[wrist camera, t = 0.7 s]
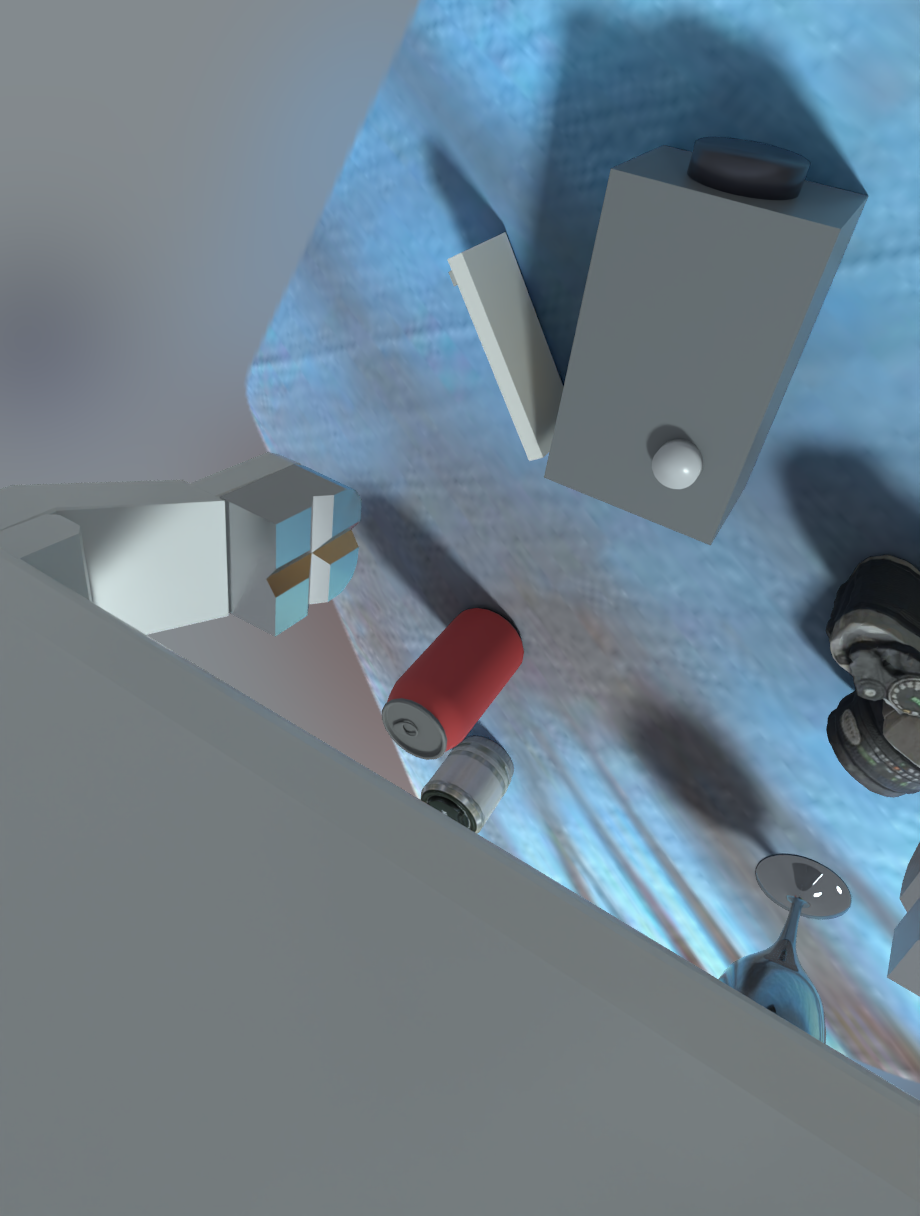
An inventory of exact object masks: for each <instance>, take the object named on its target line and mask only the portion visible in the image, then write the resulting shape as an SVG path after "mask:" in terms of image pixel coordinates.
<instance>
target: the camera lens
mask: <svg viewBox="0 0 920 1216" xmlns="http://www.w3.org/2000/svg"><path fill="white" fill-rule="evenodd" d="M513 772H514V767H513V763H512V761H511V758H510V757H509V755H508V754H507V752H505V750H504V749H503V748H502V747H501V746H499V745H498V744H497V743H495V742H493V741H492V740H490V739H487V738H484V737H481V736H472V737H468V738H466V739H465V740H464V741H463V742H461V743H460V744H458V745H457V746H456V747H455V748H454V749H453V750H452V751H451V752H450V754H449V755H448V757H447V758H446V760H445V761H444V762H443V763H442V765H441V766H440V767H439V769H438V770H437V771H436V773H435V774H434V775H433V777H432V778H431V779H430V781H429V782H428V783H427V784H426V785H425V786H424V788H423V789H422V792H421V801H423V802H425V803H426V804H428V805H430V806H431V807H433V808H435V809H436V810H438V811H440V812H441V813H443V814H445V815H446V816H448V817H450V818H451V819H453V820H455V821H456V822H458V823H460V824H461V825H463V826H465V827H466V828H468V829H470V830H471V831H473V832H475V833H476V834H478V833H479V832H480V830H481V829H482V827H483V826H484V824H485V823H486V821H487V820H488V818H489V817H490V815H491V814H492V812H493V811H494V809H495V807H496V806H497V804H498V803H499V801H500V800H501V798H502V797H503V795H504V794H505V792H506V791H507V788H508V786H509V784H510V782H511V777H512V775H513Z"/></svg>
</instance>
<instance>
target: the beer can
mask: <svg viewBox="0 0 920 1216" xmlns="http://www.w3.org/2000/svg"><path fill="white" fill-rule="evenodd" d="M523 654H524V650H523V645H522V641H521V638H520V637H519V635H518V633H517V631H516V629H515V628H514V627H513V626H512V625H511V624H510V623H509V621H507V620H506V619H505V618H503V617H502V616H500V615H499V614H497V613H495V612H492V611H490V610H487V609H480V608H473V609H468V610H465V611H463V612H462V613H460V614H459V615H458V616H457V617H456V618H455V619H454V620H453V621H452V622H451V623H450V624H449V625H448V626H447V628H446V629H445V630H444V631H443V632H442V633H441V634H440V635H439V636H438V637H437V638H436V639H435V641H434V642H433V643H432V644H431V645H430V646H429V647H428V648H427V649H426V650H425V651H424V652H423V654H422V655H421V656H420V657H419V658H418V659H417V660H416V661H415V662H414V663H413V664H412V665H411V667H410V668H409V669H408V670H407V671H406V672H405V673H404V674H403V675H402V676H401V677H400V678H399V679H398V681H397V682H396V683H395V685H394V687H393V689H392V691H391V693H390V695H389V698H388V701H387V703H386V704H385V705H384V707H383V709H382V720H383V723H384V726H385V729H386V730H387V732H388V733H389V735H390V737H391V738H392V739H393V740H394V741H395V742H396V743H397V744H398V745H399V746H400V747H401V748H402V749H404V750H405V751H406V752H408V753H410V754H412V755H414V756H416V757H419V758H423V759H437V758H439V757H441V756H442V755H443V754H444V752H445V751H447V750H449V749H451V748H453V747H455V746H457V745H458V744H459V743H460V742H462V741H463V739H464V738H465V737H466V735H467V734H468V733H469V732H470V730H471V729H472V728H473V726H474V725H475V724H476V722H477V721H478V720H479V718H480V717H481V716H482V715H483V713H484V712H485V711H486V709H487V708H488V707H489V705H490V704H491V703H492V702H493V700H494V699H495V698H496V696H497V695H498V694H499V692H500V691H501V690H502V688H503V687H504V686H505V685H506V683H507V682H508V681H509V679H510V678H511V677H512V675H513V674H514V673H515V672H516V670H517V669H518V667H519V666H520V665H521V663H522V660H523Z"/></svg>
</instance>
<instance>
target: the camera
mask: <svg viewBox="0 0 920 1216" xmlns="http://www.w3.org/2000/svg"><path fill="white" fill-rule="evenodd" d="M826 633H827V635H828V637H829V642H830V650H831V653H832V656H833V658H834V659H835V661H836V662H837V663H838V664H839V665H840V666H841V667H843V668H844V669H845V670H846V671H848V672H849V673H850V674H851V675H852V676H853V680H854V684H855V687H856V690H855V691H854V692H852V693H850V694H849V695H847V696H845V697H844V698H843V699H842V700H841V701H840V703H839V705H838V707H837V709H835V710H834V711H832V712H831V714H830V715H829V716H828V724H827V729H826V730H827V736H828V740H829V743H830V744H831V746H832V748H833V750H834V752H835V754H836V756H837V758H838V760H839V762H840V763H841V764H842V766H843V767H844V768H845V770H846V771H847V772H848V773H849V774H850V775H851V776H852V777H853V778H854V779H856V780H857V781H858V782H859V783H861V784H862V785H863V786H865V787H866V788H867V789H868V790H870V791H872V792H874V793H877V794H880V795H883V796H886V797H898V796H901V795H904V794H912V793H916V792H919V791H920V572H919V571H918V570H917V569H916V568H915V567H914V566H913V565H912V564H910V563H908V562H907V561H905V560H902V559H899V558H896V557H894V556H891V555H883V556H874V557H869V558H867V559H866V560H864V561H863V562H861V563H859V565H858V566H857V568H856V569H855V571H854V572H853V574H852V575H851V576H850V578H849V580H848V581H847V582H845V583H844V584H842V585H841V586H840V588H839V590H838V592H837V596H836V599H835V601H834V608H833V610H832V613H831V619H830V620H829V621H828V624H827V627H826Z"/></svg>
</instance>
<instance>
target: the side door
mask: <svg viewBox="0 0 920 1216" xmlns="http://www.w3.org/2000/svg"><path fill="white" fill-rule="evenodd" d="M448 262H449V264H450V267H451V269H452V271H449V275H450V277H451V280H452V282H453V285H454V286H456V285H458V287H459V289H460V291H461V294H462V296H463V299H464V301H465V304H466V306H467V309H468V311H469V314H470V316H471V319H472V321H473V324H474V326H475V328H476V331H477V333H478V336H479V338H480V341H481V343H482V346H483V348H484V351H485V353H486V356H487V358H488V361H489V363H490V365H491V368H492V370H493V373H494V375H495V378H496V380H497V383H498V385H499V388H500V390H501V393H502V395H503V398H504V400H505V402H506V405H507V407H508V410H509V412H510V415H511V417H512V420H513V422H514V425H515V427H516V430H517V432H518V435H519V437H520V439H521V442H522V444H523V447H524V449H525V452H526V454H527V457H528V459H529V461H531V460H535V459H539V458H543V457H544V456H545V455H546V454H547V453H548V452H549V451H550V448H551V443H552V438H553V434H554V429H555V424H556V420H557V415H558V411H559V406H560V401H561V397H562V392H563V385H562V382H561V379H560V377H559V374H558V371H557V369H556V366H555V363H554V361H553V358H552V355H551V353H550V350H549V347H548V344H547V342H546V339H545V336H544V334H543V331H542V328H541V326H540V323H539V320H538V318H537V315H536V312H535V310H534V307H533V304H532V302H531V299H530V296H529V294H528V291H527V288H526V286H525V283H524V280H523V278H522V275H521V272H520V269H519V267H518V264H517V261H516V259H515V256H514V253H513V251H512V248H511V245H510V243H509V240H508V237H507V235H506V232H504V233H502V234H500V235H498V236H496V237H494V238H491V239H489V240H487V241H485V242H483V243H481V244H479V245H477V246H475V247H472V248H470V249H468V250H466V251H464V252H462V253H460V254H458V255H456V256H454V257H451V258H449V259H448Z"/></svg>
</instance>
